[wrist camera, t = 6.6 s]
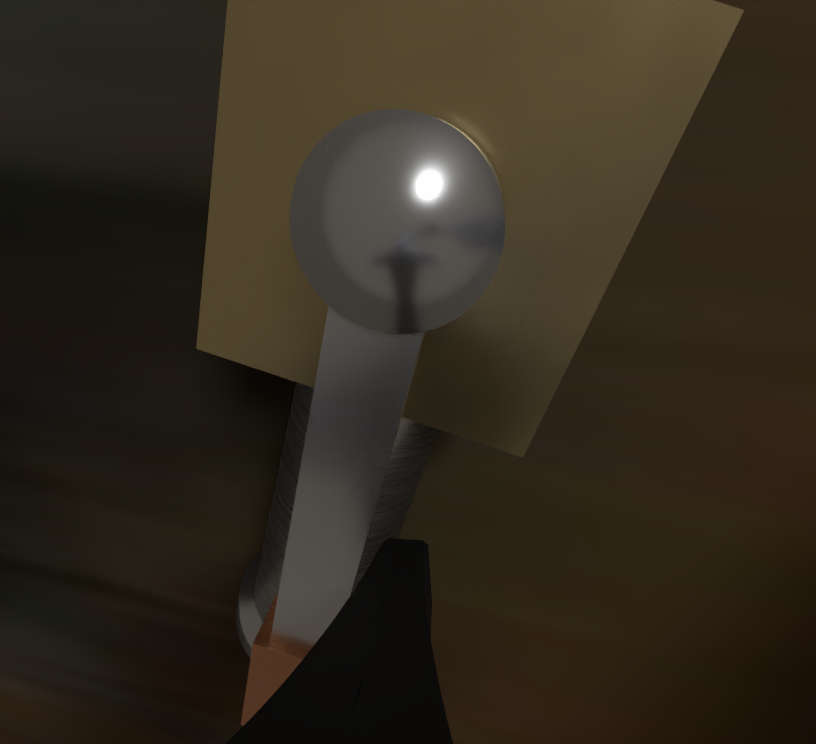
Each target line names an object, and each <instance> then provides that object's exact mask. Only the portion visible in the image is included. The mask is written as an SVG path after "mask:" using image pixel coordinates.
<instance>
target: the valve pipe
mask: <svg viewBox="0 0 816 744" xmlns="http://www.w3.org/2000/svg"><path fill="white" fill-rule="evenodd" d="M743 11H744V10H741V9H738V8H735V7H732V6H729V5H726V4H723V3H719V2H716V1H713V0H228V4H227V15H226V26H225V37H224V48H223V59H222V70H221V81H220V93H219V104H218V115H217V126H216V137H215V148H214V159H213V170H212V181H211V192H210V203H209V215H208V226H207V237H206V248H205V259H204V270H203V281H202V292H201V303H200V314H199V325H198V337H197V348H196V349H199V350H202V351H205V352H208V353H211V354H214V355H217V356H220V357H223V358H226V359H229V360H232V361H235V362H238V363H241V364H244V365H247V366H250V367H253V368H256V369H259V370H262V371H265V372H268V373H271V374H274V375H277V376H280V377H283V378H286V379H289V380H292V381H295V382H296V386H295V391H294V396H293V401H292V406H291V410H290V415H289V420H288V425H287V430H286V435H285V440H284V445H283V450H282V455H281V460H280V464H279V469H278V474H277V479H276V484H275V489H274V494H273V499H272V504H271V509H270V514H269V518H268V523H267V528H266V533H265V538H264V543H263V548H262V552H260V553H259V554H258V555H257V556H256V557H255V558H254V560H253V561H252V562H251V563H250V565H249V566H248V568H247V570H246V572H245V574H244V576H243V580H242V583H241V587H240V593H239V598H238V604H237V610H236V627H237V632H238V636H239V639H240V642H241V644H242V646H243V648H244V650H245V651H246V653H247V654H248V656H249V657H250V658H251V653H252V646H253V642H254V640H255V638H256V636H257V634H258V632H259V630H260V628H261V625H262V623H263V621H264V619H265V617H266V615H267V613H268V611H269V609H270V606H271V604H272V602H273V600H274V598H275V596H276V594H277V592H278V590H279V586H280V581H281V575H282V569H283V564H284V558H285V552H286V546H287V541H288V535H289V529H290V524H291V518H292V512H293V506H294V501H295V495H296V489H297V484H298V478H299V472H300V466H301V461H302V455H303V449H304V444H305V438H306V432H307V426H308V421H309V415H310V409H311V403H312V398H313V392H314V386H315V381H316V375H317V369H318V363H319V358H320V352H321V346H322V341H323V335H324V329H325V323H326V318H327V312H328V305H327V304H326V303H325V302H324V301H323V300H322V299H321V298H320V297H319V296H318V294H317V293H316V292H315V290H314V289H313V288H312V286H311V285H310V284H309V282H308V280H307V279H306V277H305V275H304V274H303V272H302V270H301V267H300V265H299V263H298V260H297V258H296V254H295V251H294V248H293V244H292V238H291V233H290V218H289V217H290V202H291V197H292V192H293V187H294V184H295V181H296V178H297V175H298V173H299V171H300V169H301V167H302V165H303V163H304V161H305V159H306V158H307V156H308V155H309V153H310V152H311V150H312V149H313V148H314V147H315V145H316V144H317V143H318V142H319V141H320V140H321V139H322V138H323V137H324V136H325V135H326V134H327V133H329V132H330V131H331V130H332V129H333V128H335V127H337V126H338V125H340V124H341V123H343V122H345V121H346V120H348V119H351V118H353V117H355V116H358V115H360V114H364V113H367V112H371V111H375V110H385V109H404V110H410V111H416V112H421V113H424V114H428V115H431V116H434V117H437V118H440V119H443V120H445V121H447V122H449V123H451V124H453V125H455V126H457V127H458V128H460V129H461V130H462V131H464V132H465V133H467V134H468V135H469V136H470V137H471V138H472V139H473V140H474V141H475V142H476V143H477V144H478V145H479V146H480V147H481V149H482V150H483V151H484V152H485V154H486V155H487V157H488V159H489V160H490V162H491V164H492V165H493V167H494V170H495V172H496V175H497V177H498V180H499V183H500V187H501V191H502V197H503V204H504V212H505V239H504V247H503V251H502V255H501V259H500V263H499V265H498V267H497V270H496V272H495V275H494V277H493V279H492V280H491V282H490V284H489V286H488V287H487V289H486V290H485V291H484V293H483V294H482V295H481V297H480V298H479V299H478V300H477V301H476V302H475V303H474V304H473V305H472V306H471V307H470V309H468V310H467V311H466V312H464V313H463V314H462V315H461V316H459V317H458V318H456V319H454V320H453V321H451V322H449V323H448V324H445V325H443V326H441V327H438V328H436V329H433V330H429V331H426V332H425V335H424V338H423V342H422V346H421V349H420V353H419V356H418V360H417V364H416V367H415V371H414V374H413V378H412V381H411V385H410V389H409V392H408V396H407V399H406V403H405V407H404V410H403V414H402V417H401V421H400V424H399V428H398V432H397V435H396V439H395V442H394V446H393V450H392V453H391V457H390V460H389V464H388V467H387V471H386V475H385V478H384V482H383V485H382V489H381V493H380V496H379V500H378V503H377V507H376V510H375V514H374V518H373V521H372V525H371V528H370V532H369V536H368V539H367V543H366V546H365V550H364V553H363V557H362V561H361V564H360V568H359V571H358V575H357V579H356V582H355V586H354V589H353V591H354V590H355V588H356V586H357V585H358V583H359V582H360V580H361V579H362V577H363V576H364V574H365V572H366V571H367V569H368V568H369V566H370V564H371V563H372V561H373V559H374V558H375V556H376V554H377V553H378V551H379V549H380V547H381V545H382V544H383V542H384V541H385V540H386V539H388V538H392V539H398V537H399V534H400V532H401V529H402V526H403V524H404V521H405V518H406V516H407V513H408V511H409V508H410V505H411V503H412V500H413V497H414V495H415V492H416V490H417V487H418V484H419V482H420V479H421V477H422V474H423V471H424V469H425V466H426V463H427V461H428V458H429V456H430V453H431V450H432V448H433V445H434V442H435V440H436V437H437V435H438V432H439V430H441V431H444V432H447V433H450V434H453V435H456V436H459V437H462V438H465V439H468V440H471V441H474V442H477V443H480V444H483V445H486V446H489V447H492V448H495V449H498V450H501V451H504V452H507V453H510V454H513V455H516V456H519V457H522V458H523V456H524V454H525V452H526V450H527V448H528V446H529V444H530V442H531V440H532V438H533V436H534V434H535V432H536V430H537V428H538V426H539V424H540V422H541V420H542V418H543V416H544V414H545V412H546V410H547V408H548V406H549V404H550V402H551V400H552V398H553V396H554V394H555V391H556V389H557V387H558V385H559V383H560V381H561V379H562V377H563V375H564V373H565V371H566V369H567V367H568V365H569V363H570V361H571V359H572V357H573V355H574V353H575V351H576V349H577V347H578V345H579V343H580V341H581V339H582V337H583V335H584V333H585V331H586V329H587V327H588V325H589V323H590V321H591V319H592V317H593V315H594V313H595V311H596V309H597V307H598V305H599V303H600V301H601V298H602V296H603V294H604V292H605V290H606V288H607V286H608V284H609V282H610V280H611V278H612V276H613V274H614V272H615V270H616V268H617V266H618V264H619V262H620V260H621V258H622V256H623V254H624V252H625V250H626V248H627V246H628V244H629V242H630V240H631V238H632V236H633V234H634V232H635V230H636V228H637V226H638V224H639V222H640V220H641V218H642V216H643V214H644V212H645V210H646V208H647V205H648V203H649V201H650V199H651V197H652V195H653V193H654V191H655V189H656V187H657V185H658V183H659V181H660V179H661V177H662V175H663V173H664V171H665V169H666V167H667V165H668V163H669V161H670V159H671V157H672V155H673V153H674V151H675V149H676V147H677V145H678V143H679V141H680V139H681V137H682V135H683V133H684V131H685V129H686V127H687V125H688V123H689V121H690V119H691V117H692V115H693V112H694V110H695V108H696V106H697V104H698V102H699V100H700V98H701V96H702V94H703V92H704V90H705V88H706V86H707V84H708V82H709V80H710V78H711V76H712V74H713V72H714V70H715V68H716V66H717V64H718V62H719V60H720V58H721V56H722V54H723V52H724V50H725V48H726V46H727V44H728V42H729V40H730V38H731V36H732V34H733V32H734V30H735V28H736V26H737V24H738V22H739V20H740V17H741V15H742V13H743Z"/></svg>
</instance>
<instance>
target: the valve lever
mask: <svg viewBox="0 0 816 744" xmlns="http://www.w3.org/2000/svg"><path fill="white" fill-rule="evenodd" d="M289 218H290V233H291V238H292V244H293V248H294V251H295V254H296V258H297V260H298V263H299V265H300V267H301V270H302V272H303V274H304V275H305V277H306V279H307V280H308V282H309V284H310V285H311V286H312V288H313V289H314V290H315V292H316V293H317V294H318V296H319V297H320V298H321V299H322V300H323V301H324V302H325V303H326V304H327V305H328V312H327V318H326V323H325V329H324V335H323V341H322V346H321V352H320V358H319V363H318V369H317V375H316V381H315V386H314V392H313V398H312V403H311V409H310V415H309V421H308V426H307V432H306V438H305V444H304V449H303V455H302V461H301V466H300V472H299V478H298V484H297V489H296V495H295V501H294V506H293V512H292V518H291V524H290V529H289V535H288V541H287V546H286V552H285V558H284V564H283V569H282V575H281V581H280V586H279V590H278V592H277V594H276V596H275V598H274V600H273V602H272V604H271V606H270V609H269V611H268V613H267V615H266V617H265V619H264V621H263V623H262V625H261V628H260V630H259V632H258V634H257V636H256V638H255V640H254V642H253V646H252V653H251V659H250V666H249V673H248V679H247V686H246V693H245V699H244V706H243V713H242V719H241V725H242V726H244V725H245V724H246V723H247V722H248V721H249V720H250V719H251V718H252V717H253V715H254V714H255V713H256V712H257V711H258V710H259V709H260V708H261V707H262V706H263V705H264V704H265V703H266V702H267V700H268V699H269V698H270V697H271V696H272V695H273V694H274V693H275V692H276V690H277V689H278V688H279V687H280V686H281V685H282V684H283V683H284V681H285V680H286V679H287V678H288V677H289V676H290V674H291V673H292V672H293V671H294V670H295V668H296V667H297V666H298V665H299V664H300V662H301V661H302V660H303V659H304V657H305V656H306V655H307V654H308V652H309V651H310V650H311V648H312V647H313V646H314V645H315V643H316V642H317V641H318V639H319V638H320V637H321V636H322V634H323V633H324V632H325V630H326V629H327V628H328V626H329V625H330V624H331V622H332V621H333V620H334V618H335V617H336V615H337V614H338V613H339V611H340V610H341V608H342V607H343V605H344V604H345V603H346V601H347V600H348V598H349V597H350V595H351V594H352V592H353V589H354V586H355V582H356V579H357V575H358V571H359V568H360V564H361V561H362V557H363V553H364V550H365V546H366V543H367V539H368V536H369V532H370V528H371V525H372V521H373V518H374V514H375V510H376V507H377V503H378V500H379V496H380V493H381V489H382V485H383V482H384V478H385V475H386V471H387V467H388V464H389V460H390V457H391V453H392V450H393V446H394V442H395V439H396V435H397V432H398V428H399V424H400V421H401V417H402V414H403V410H404V407H405V403H406V399H407V396H408V392H409V389H410V385H411V381H412V378H413V374H414V371H415V367H416V364H417V360H418V356H419V353H420V349H421V346H422V342H423V338H424V335H425V332H426V331H429V330H433V329H436V328H438V327H441V326H443V325H445V324H448V323H449V322H451V321H453V320H454V319H456V318H458V317H459V316H461V315H462V314H463V313H464V312H466V311H467V310H468V309H470V307H471V306H472V305H473V304H474V303H475V302H476V301H477V300H478V299H479V298H480V297H481V295H482V294H483V293H484V291H485V290H486V289H487V287H488V286H489V284H490V282H491V280H492V279H493V277H494V275H495V272H496V270H497V267H498V265H499V263H500V259H501V255H502V251H503V247H504V239H505V212H504V204H503V197H502V191H501V187H500V183H499V180H498V177H497V175H496V172H495V170H494V167H493V165H492V164H491V162H490V160H489V159H488V157H487V155H486V154H485V152H484V151H483V150H482V149H481V147H480V146H479V145H478V144H477V143H476V142H475V141H474V140H473V139H472V138H471V137H470V136H469V135H468V134H467V133H465V132H464V131H462V130H461V129H460V128H458V127H457V126H455V125H453V124H451V123H449V122H447V121H445V120H443V119H440V118H437V117H434V116H431V115H428V114H424V113H421V112H416V111H410V110H404V109H385V110H375V111H371V112H367V113H364V114H360V115H358V116H355V117H353V118H351V119H348V120H346V121H345V122H343V123H341V124H340V125H338V126H337V127H335V128H333V129H332V130H331V131H330V132H329V133H327V134H326V135H325V136H324V137H323V138H322V139H321V140H320V141H319V142H318V143H317V144H316V145H315V147H314V148H313V149H312V150H311V152H310V153H309V155H308V156H307V158H306V159H305V161H304V163H303V165H302V167H301V169H300V171H299V173H298V175H297V178H296V181H295V184H294V187H293V192H292V197H291V202H290V217H289Z"/></svg>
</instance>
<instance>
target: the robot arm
mask: <svg viewBox="0 0 816 744" xmlns="http://www.w3.org/2000/svg"><path fill="white" fill-rule="evenodd" d="M431 613H432V597H431V582H430V567H429V552H428V545H427V544H426V543H425V542H424V541H422V540H407V539H392V538H388V539H386V540H385V541H384V542H383V544H382V545H381V547H380V549H379V551H378V553H377V554H376V556H375V558H374V559H373V561H372V563H371V564H370V566H369V568H368V569H367V571H366V572H365V574H364V576H363V577H362V579H361V580H360V582H359V583H358V585H357V586H356V588H355V590H354V591H353V592H352V594H351V595H350V597H349V598H348V600H347V601H346V603H345V604H344V605H343V607H342V608H341V610H340V611H339V613H338V614H337V615H336V617H335V618H334V620H333V621H332V622H331V624H330V625H329V626H328V628H327V629H326V630H325V632H324V633H323V634H322V636H321V637H320V638H319V639H318V641H317V642H316V643H315V645H314V646H313V647H312V648H311V650H310V651H309V652H308V654H307V655H306V656H305V657H304V659H303V660H302V661H301V662H300V664H299V665H298V666H297V667H296V668H295V670H294V671H293V672H292V673H291V674H290V676H289V677H288V678H287V679H286V680H285V681H284V683H283V684H282V685H281V686H280V687H279V688H278V689H277V690H276V692H275V693H274V694H273V695H272V696H271V697H270V698H269V699H268V700H267V702H266V703H265V704H264V705H263V706H262V707H261V708H260V709H259V710H258V711H257V712H256V713H255V714H254V715H253V717H252V718H251V719H250V720H249V721H248V722H247V723H246V724H245V725H244V726H243V727H242V728H241V729H240V730H239V731H238V732H237V733H236V734H235V735H234V736H233V737H232V738H231V739H230V740H229V741H228V742H227V743H226V744H453V741H452V738H451V734H450V730H449V726H448V722H447V718H446V713H445V709H444V705H443V701H442V696H441V692H440V687H439V682H438V677H437V672H436V667H435V662H434V657H433V651H432V645H431V639H430V638H431Z"/></svg>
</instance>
